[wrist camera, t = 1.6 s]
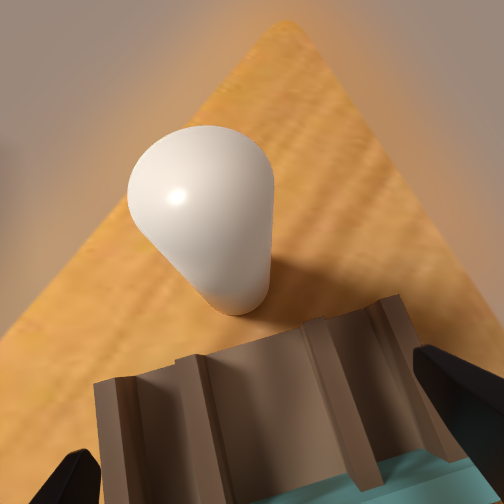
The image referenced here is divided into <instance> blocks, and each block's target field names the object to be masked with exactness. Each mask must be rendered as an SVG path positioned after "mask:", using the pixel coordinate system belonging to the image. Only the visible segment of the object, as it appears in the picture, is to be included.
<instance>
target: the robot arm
mask: <svg viewBox="0 0 504 504" xmlns="http://www.w3.org/2000/svg"><path fill="white" fill-rule="evenodd" d="M413 372H414V375H415V377H416V379H417V380H418V382H419V384H420V385H421V387H422V388H423V390H424V392H425V393H426V395H427V396H428V398H429V400H430V401H431V403H432V404H433V406H434V408H435V409H436V411H437V413H438V414H439V416H440V417H441V419H442V421H443V422H444V424H445V425H446V427H447V428H448V430H449V431H450V433H451V434H452V436H453V437H454V438H455V440H456V441H457V442H458V444H459V445H460V446H461V448H462V449H463V450H464V452H465V453H466V454H467V456H468V457H469V458H470V460H471V461H472V462H473V464H474V465H475V466H476V467H477V469H478V470H479V471H480V473H481V474H482V475H483V477H484V478H485V479H486V481H487V482H488V483H489V485H490V486H491V487H492V489H493V490H494V491H495V493H496V494H497V495H498V496H499V498H500V499H501V500H502V502H503V503H504V378H501V377H499V376H497V375H495V374H493V373H491V372H489V371H486V370H484V369H482V368H480V367H478V366H476V365H473V364H471V363H469V362H467V361H465V360H463V359H461V358H458V357H456V356H454V355H452V354H450V353H448V352H446V351H443V350H441V349H439V348H437V347H435V346H433V345H430V344H424V345H421V346H418V347H415V348H414V349H413ZM100 484H101V468H100V466H99V464H98V463H97V461H96V460H95V459H94V457H93V456H92V455H91V453H90V452H89V451H88V450H87V449H85V448H84V449H80V450H76V451H73V452H71V453H69V454H68V455H67V456H66V457H65V458H64V459H63V460H62V462H61V463H60V464H59V466H58V467H57V468H56V469H55V471H54V472H53V473H52V475H51V476H50V477H49V478H48V480H47V481H46V482H45V483H44V485H43V486H42V487H41V489H40V490H39V491H38V492H37V494H36V495H35V496H34V498H33V499H32V500H31V501H30V503H29V504H99V495H100Z"/></svg>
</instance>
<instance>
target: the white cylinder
mask: <svg viewBox="0 0 504 504" xmlns="http://www.w3.org/2000/svg"><path fill="white" fill-rule="evenodd" d="M273 203H274V176H273V171H272V168H271V165H270V162H269V160H268V158H267V157H266V155H265V154H264V152H263V151H262V149H261V148H260V147H259V146H258V145H257V144H256V143H255V142H253V141H252V140H251V139H250V138H248V137H247V136H245V135H243V134H241V133H239V132H237V131H235V130H232V129H228V128H224V127H219V126H195V127H189V128H185V129H181V130H178V131H176V132H173V133H171V134H169V135H167V136H165V137H164V138H162V139H160V140H159V141H157V142H156V143H155V144H153V145H152V146H151V147H150V148H149V149H148V150H147V151H146V152H145V153H144V154H143V155H142V157H141V158H140V159H139V161H138V162H137V164H136V165H135V167H134V170H133V172H132V174H131V177H130V180H129V185H128V206H129V210H130V213H131V216H132V218H133V220H134V222H135V224H136V225H137V227H138V228H139V229H140V231H141V232H142V233H143V234H144V235H145V236H146V237H147V238H148V239H149V240H150V241H151V242H152V243H153V245H154V246H155V247H156V248H157V249H158V250H159V251H160V252H161V253H162V254H163V255H164V256H165V257H166V258H167V259H168V260H169V262H170V263H171V264H172V265H173V266H174V267H175V268H176V269H177V270H178V271H179V272H180V273H181V274H182V275H183V276H184V278H185V279H186V280H187V281H188V282H189V283H190V284H191V285H192V286H193V287H194V288H195V289H196V290H197V291H198V292H199V294H200V295H201V296H202V297H203V298H204V299H205V300H206V301H207V302H208V303H209V304H210V305H211V306H212V307H213V308H214V309H215V310H217V311H219V312H221V313H223V314H227V315H243V314H246V313H249V312H251V311H253V310H254V309H256V308H257V307H258V306H259V305H260V304H261V303H262V302H263V301H264V299H265V297H266V296H267V293H268V290H269V285H270V267H271V246H272V224H273Z"/></svg>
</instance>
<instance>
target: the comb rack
mask: <svg viewBox="0 0 504 504" xmlns="http://www.w3.org/2000/svg"><path fill="white" fill-rule="evenodd" d="M421 345H422V344H421V342H420V340H419V337H418V335H417V333H416V331H415V329H414V326H413V324H412V322H411V320H410V318H409V315H408V313H407V311H406V309H405V306H404V304H403V302H402V300H401V298H400V295H399V294H398V295H394V296H391V297H387V298H384V299H381V300H378V301H377V302H375V303H373V304H371V305H370V306H368V307H366V308H364V309H361V310H357V311H354V312H351V313H347V314H344V315H340V316H337V317H334V318H330V319H327V320H325V318H324V316H323V317H319V318H316V319H313V320H309V321H306V322H304V323H303V324H302V325H301V326H300V327H299V328H296V329H293V330H290V331H286V332H283V333H279V334H276V335H273V336H269V337H266V338H262V339H259V340H256V341H252V342H249V343H245V344H242V345H239V346H235V347H232V348H228V349H225V350H222V351H218V352H215V353H211V354H208V355H199V354H193V355H190V356H187V357H183V358H180V359H176V360H175V364H174V365H171V366H167V367H164V368H161V369H157V370H154V371H150V372H147V373H144V374H140V375H137V376H128V377H117V378H112V379H108V380H105V381H102V382H98V383H95V384H93V385H94V396H95V406H96V417H97V428H98V438H99V449H100V459H101V470H102V480H103V491H104V502H105V504H491V503H494V502H497V501H500V500H501V499H500V498H499V496H498V495H497V494H496V493H495V491H494V490H493V489H492V487H491V486H490V485H489V483H488V482H487V481H486V479H485V478H484V477H483V475H482V474H481V473H480V471H479V470H478V469H477V467H476V466H475V465H474V464H473V462H472V461H471V460H470V458H469V457H468V456H467V454H466V453H465V452H464V450H463V449H462V448H461V446H460V445H459V444H458V442H457V441H456V440H455V438H454V437H453V436H452V434H451V433H450V431H449V430H448V428H447V427H446V425H445V424H444V422H443V421H442V419H441V417H440V416H439V414H438V413H437V411H436V409H435V408H434V406H433V404H432V403H431V401H430V400H429V398H428V396H427V395H426V393H425V392H424V390H423V388H422V387H421V385H420V384H419V382H418V380H417V379H416V377H415V375H414V372H413V349H414V348H415V347H418V346H421Z"/></svg>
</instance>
